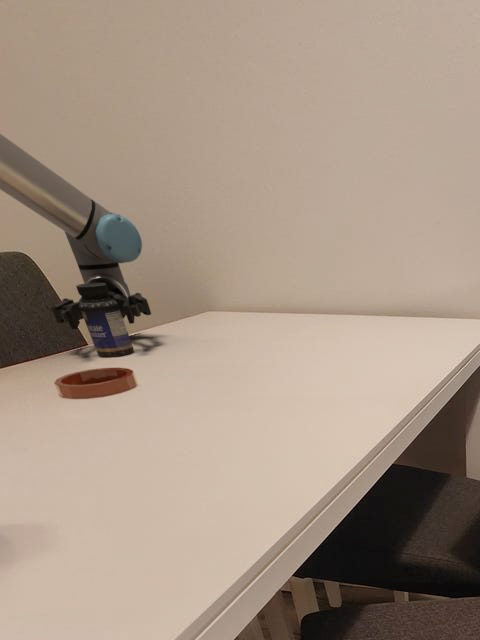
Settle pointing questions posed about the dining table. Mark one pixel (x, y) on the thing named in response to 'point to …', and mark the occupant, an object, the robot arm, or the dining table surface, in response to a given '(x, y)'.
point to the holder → (96, 383)
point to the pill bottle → (104, 320)
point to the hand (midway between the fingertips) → (100, 317)
